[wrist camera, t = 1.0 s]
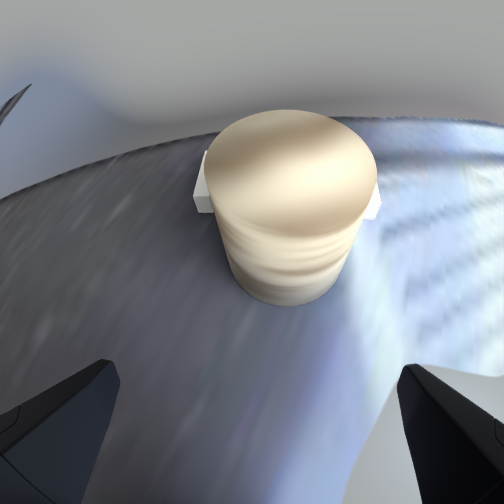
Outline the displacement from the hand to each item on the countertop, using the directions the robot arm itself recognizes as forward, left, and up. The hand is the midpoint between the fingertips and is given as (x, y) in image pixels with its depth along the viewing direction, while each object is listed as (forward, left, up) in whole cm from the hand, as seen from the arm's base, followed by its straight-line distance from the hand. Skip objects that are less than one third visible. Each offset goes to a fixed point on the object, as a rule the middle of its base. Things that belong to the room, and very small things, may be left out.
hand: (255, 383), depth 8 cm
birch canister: (+10, -7, -14) cm, 19 cm away
